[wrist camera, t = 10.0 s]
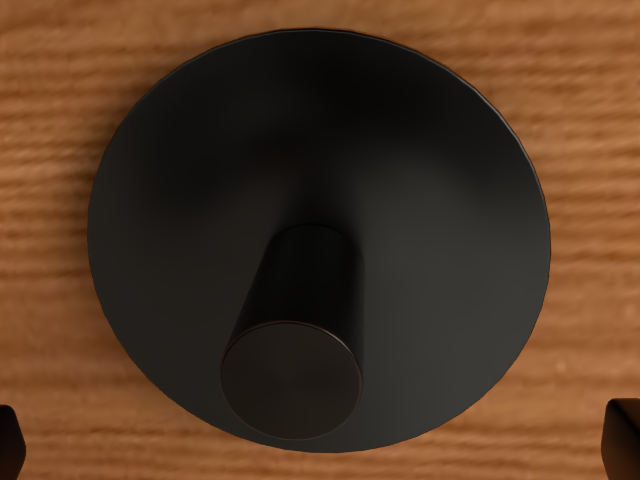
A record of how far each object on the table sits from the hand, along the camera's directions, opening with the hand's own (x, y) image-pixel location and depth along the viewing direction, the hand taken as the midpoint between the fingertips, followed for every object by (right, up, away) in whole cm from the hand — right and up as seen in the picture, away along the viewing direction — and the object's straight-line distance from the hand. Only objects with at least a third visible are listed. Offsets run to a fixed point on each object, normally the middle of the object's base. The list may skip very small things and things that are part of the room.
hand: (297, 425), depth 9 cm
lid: (0, +2, +5) cm, 6 cm away
